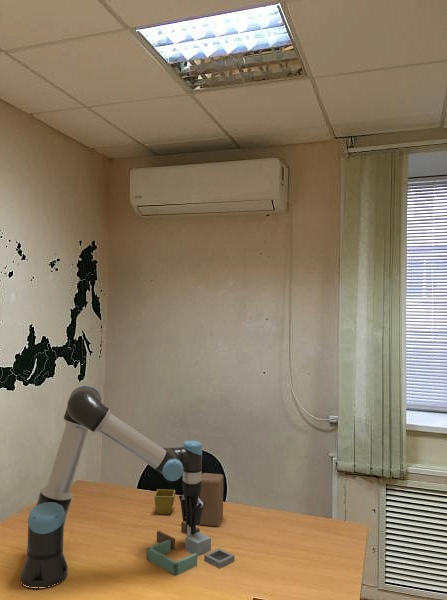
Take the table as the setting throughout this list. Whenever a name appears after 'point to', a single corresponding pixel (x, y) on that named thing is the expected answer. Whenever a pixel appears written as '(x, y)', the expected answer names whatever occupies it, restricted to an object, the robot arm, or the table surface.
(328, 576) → the table surface
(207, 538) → the block
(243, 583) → the table surface
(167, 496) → the flower pot
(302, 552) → the table surface
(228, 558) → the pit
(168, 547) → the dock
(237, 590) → the table surface
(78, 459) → the robot arm
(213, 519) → the wooden block
